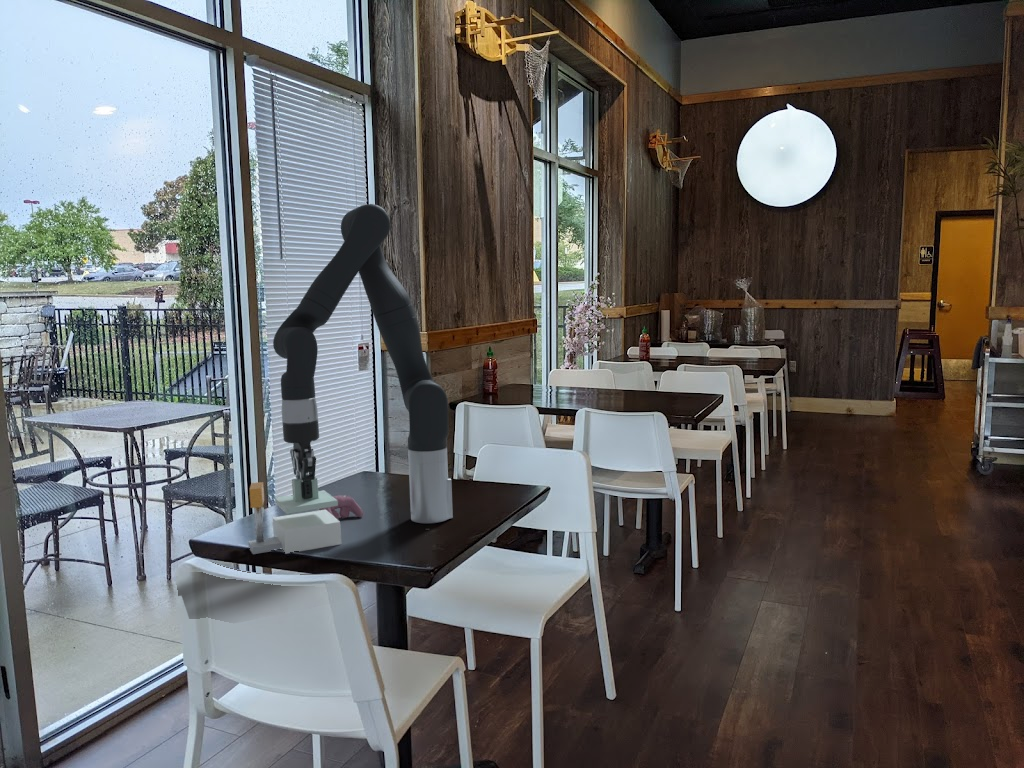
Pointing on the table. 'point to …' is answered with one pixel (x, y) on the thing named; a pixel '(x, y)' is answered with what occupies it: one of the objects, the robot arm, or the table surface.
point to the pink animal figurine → (345, 507)
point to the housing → (301, 533)
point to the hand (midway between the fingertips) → (305, 496)
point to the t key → (258, 508)
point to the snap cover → (299, 504)
